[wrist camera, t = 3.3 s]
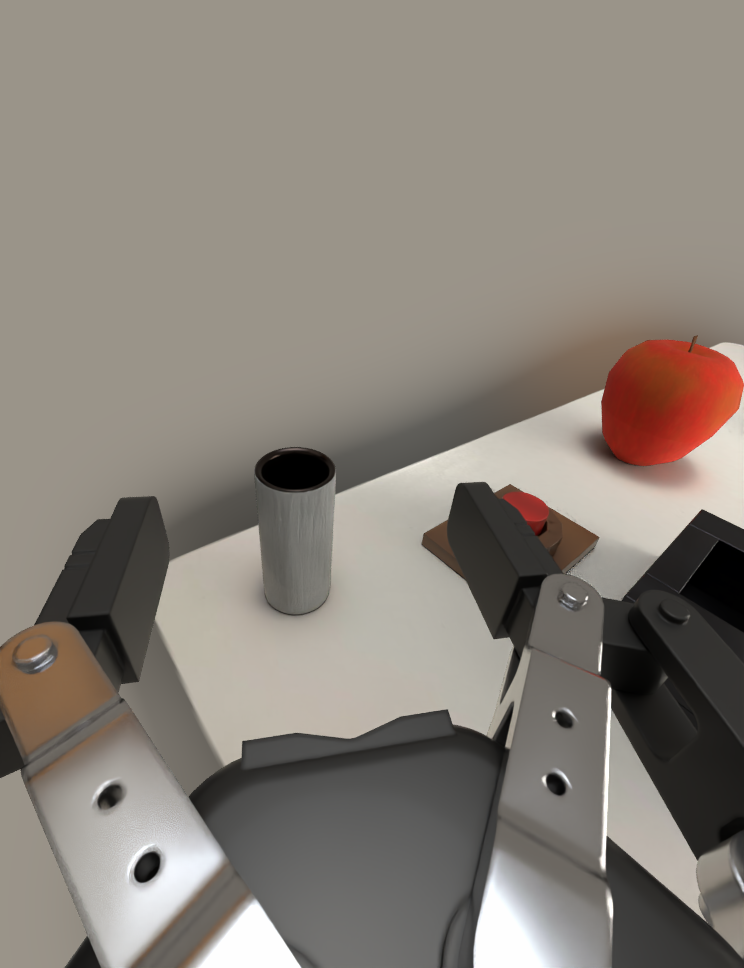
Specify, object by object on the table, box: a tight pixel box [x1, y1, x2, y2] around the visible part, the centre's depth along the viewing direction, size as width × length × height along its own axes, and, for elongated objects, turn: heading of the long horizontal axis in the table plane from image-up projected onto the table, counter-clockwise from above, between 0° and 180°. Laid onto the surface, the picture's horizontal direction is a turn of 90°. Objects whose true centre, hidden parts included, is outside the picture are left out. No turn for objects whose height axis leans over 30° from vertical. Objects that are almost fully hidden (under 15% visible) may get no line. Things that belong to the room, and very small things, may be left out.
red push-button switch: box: [422, 484, 599, 579], centre depth 35 cm, size 12×9×3 cm
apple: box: [601, 336, 744, 466], centre depth 46 cm, size 12×12×14 cm
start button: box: [503, 492, 549, 536], centre depth 34 cm, size 4×4×2 cm
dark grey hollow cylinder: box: [254, 447, 336, 614], centre depth 27 cm, size 4×4×10 cm
